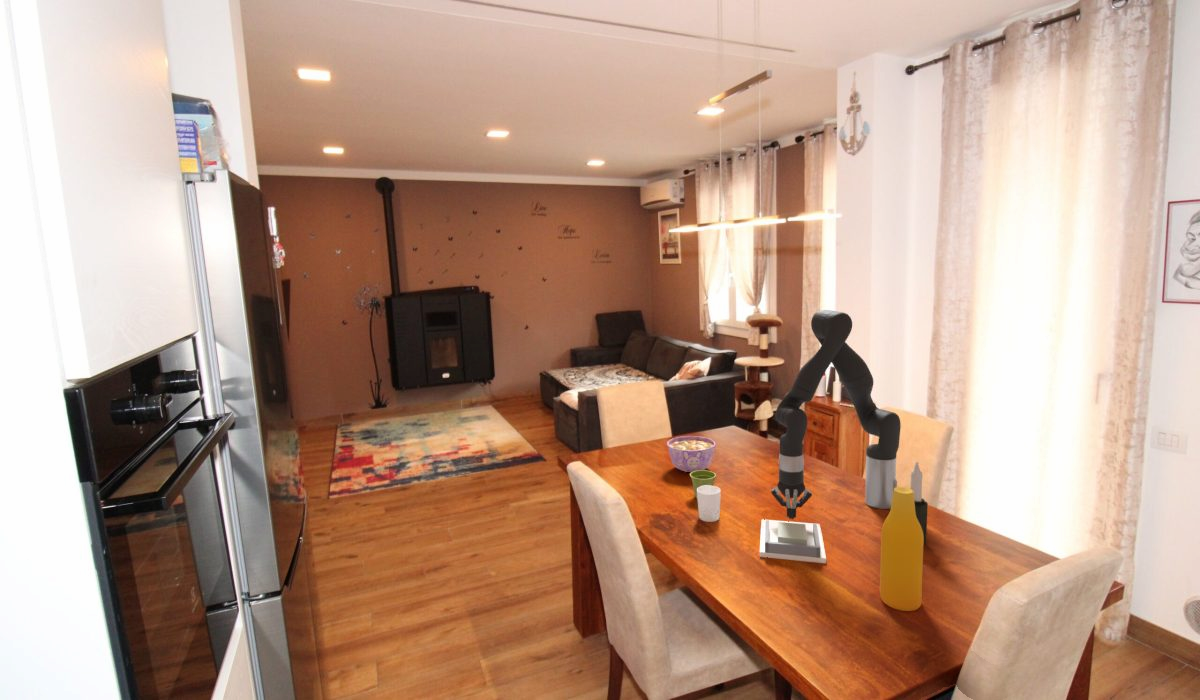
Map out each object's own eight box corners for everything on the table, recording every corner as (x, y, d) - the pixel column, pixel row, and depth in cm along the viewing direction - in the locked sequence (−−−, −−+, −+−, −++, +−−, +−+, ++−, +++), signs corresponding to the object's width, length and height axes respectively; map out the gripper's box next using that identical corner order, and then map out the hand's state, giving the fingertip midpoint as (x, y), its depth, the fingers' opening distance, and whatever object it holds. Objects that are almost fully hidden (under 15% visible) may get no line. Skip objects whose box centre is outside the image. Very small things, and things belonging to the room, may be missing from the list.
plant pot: (690, 491, 214) (689, 469, 213) (715, 491, 213) (714, 469, 212) (690, 502, 205) (690, 479, 204) (717, 502, 204) (716, 479, 202)
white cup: (694, 513, 195) (694, 486, 194) (717, 511, 196) (716, 484, 194) (700, 523, 188) (700, 495, 186) (724, 521, 188) (723, 493, 187)
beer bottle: (903, 616, 135) (907, 500, 131) (871, 596, 143) (873, 487, 139) (930, 605, 138) (934, 492, 134) (897, 587, 147) (900, 480, 143)
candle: (917, 548, 166) (919, 466, 162) (900, 540, 170) (903, 461, 166) (927, 543, 168) (930, 462, 164) (911, 536, 172) (914, 457, 169)
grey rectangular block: (805, 535, 173) (805, 524, 173) (806, 550, 164) (806, 539, 164) (777, 532, 176) (777, 521, 175) (777, 548, 166) (777, 536, 166)
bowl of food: (695, 482, 223) (694, 454, 221) (657, 470, 238) (656, 443, 236) (725, 468, 236) (725, 442, 234) (688, 458, 251) (688, 433, 249)
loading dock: (819, 526, 184) (819, 510, 183) (825, 566, 160) (826, 548, 159) (761, 522, 189) (761, 506, 188) (759, 559, 165) (759, 542, 164)
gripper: (812, 463, 182) (812, 514, 185) (769, 461, 186) (769, 511, 189) (814, 472, 175) (813, 525, 178) (769, 470, 179) (770, 521, 182)
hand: (791, 518), depth 183 cm, fingers closed
